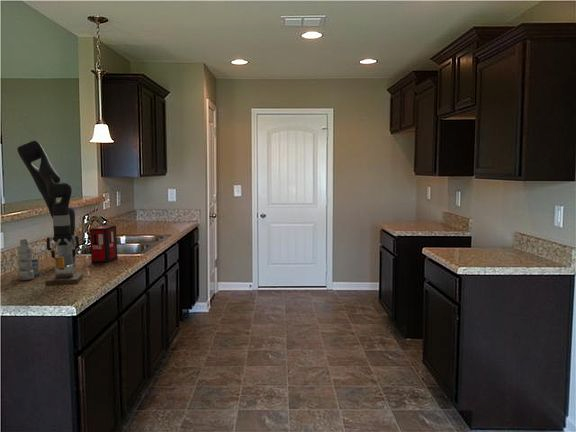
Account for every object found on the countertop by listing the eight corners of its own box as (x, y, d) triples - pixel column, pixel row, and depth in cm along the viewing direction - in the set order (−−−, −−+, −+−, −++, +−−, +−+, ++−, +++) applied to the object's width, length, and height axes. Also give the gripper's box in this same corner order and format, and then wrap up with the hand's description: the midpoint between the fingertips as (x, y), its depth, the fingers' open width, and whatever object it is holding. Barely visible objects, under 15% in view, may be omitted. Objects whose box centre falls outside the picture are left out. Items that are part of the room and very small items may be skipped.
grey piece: (68, 278, 235) (67, 257, 234) (51, 278, 234) (50, 257, 233) (76, 273, 245) (75, 253, 244) (60, 273, 244) (59, 253, 243)
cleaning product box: (102, 258, 299) (101, 225, 297) (117, 258, 299) (115, 225, 297) (91, 263, 283) (89, 229, 281) (107, 263, 283) (105, 228, 281)
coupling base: (52, 278, 245) (52, 274, 245) (82, 277, 248) (82, 272, 248) (45, 285, 231) (45, 280, 231) (77, 283, 234) (77, 278, 234)
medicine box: (24, 278, 246) (23, 261, 245) (19, 277, 249) (17, 260, 248) (39, 275, 253) (38, 259, 252) (34, 274, 255) (33, 258, 254)
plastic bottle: (20, 279, 245) (17, 239, 243) (35, 278, 247) (32, 238, 245) (18, 282, 239) (15, 241, 237) (33, 280, 241) (30, 240, 239)
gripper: (44, 226, 231) (46, 260, 233) (77, 224, 236) (79, 257, 238) (46, 224, 238) (48, 257, 240) (78, 222, 243) (80, 255, 245)
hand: (63, 257), depth 239 cm, fingers open, 8 cm apart
